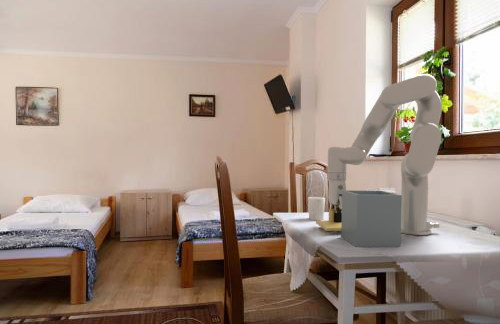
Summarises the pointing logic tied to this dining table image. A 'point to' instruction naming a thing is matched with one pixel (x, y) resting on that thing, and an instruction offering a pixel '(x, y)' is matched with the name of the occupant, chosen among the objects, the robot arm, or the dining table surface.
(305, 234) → the dining table surface
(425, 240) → the dining table surface
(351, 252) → the dining table surface
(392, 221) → the tub
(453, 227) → the dining table surface
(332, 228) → the lid
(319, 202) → the white cup
